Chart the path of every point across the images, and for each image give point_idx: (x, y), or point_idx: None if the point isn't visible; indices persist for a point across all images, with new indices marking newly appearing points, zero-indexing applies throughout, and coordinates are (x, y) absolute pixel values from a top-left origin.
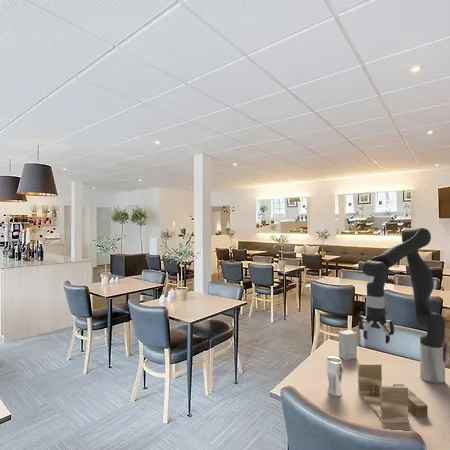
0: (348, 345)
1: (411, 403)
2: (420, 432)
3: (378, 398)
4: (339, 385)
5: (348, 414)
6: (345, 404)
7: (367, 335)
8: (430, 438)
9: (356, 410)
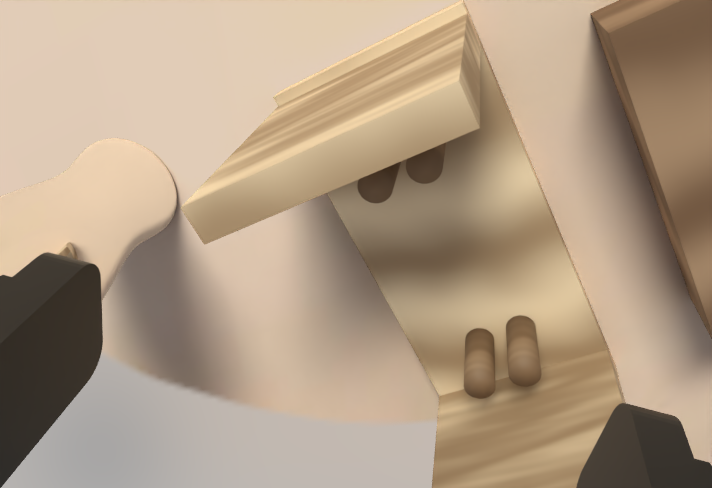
0: None
1: (693, 286)
2: None
3: (441, 185)
4: (130, 252)
5: (262, 390)
6: (227, 303)
7: (44, 314)
8: None
9: (299, 342)
